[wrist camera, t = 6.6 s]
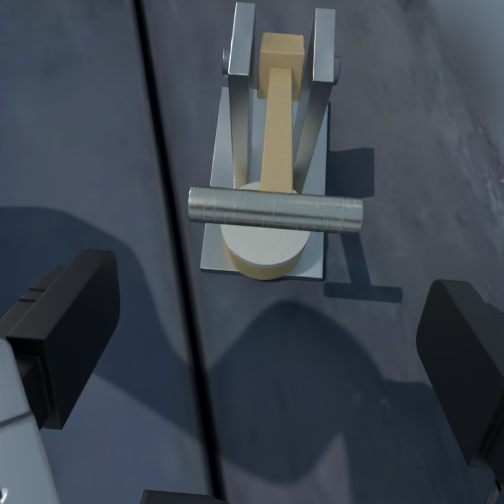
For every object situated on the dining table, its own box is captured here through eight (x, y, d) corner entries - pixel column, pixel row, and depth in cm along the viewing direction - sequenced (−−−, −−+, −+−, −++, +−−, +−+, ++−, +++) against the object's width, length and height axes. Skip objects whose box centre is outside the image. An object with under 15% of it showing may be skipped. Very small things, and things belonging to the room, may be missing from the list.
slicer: (320, 281, 33) (377, 198, 19) (201, 272, 33) (168, 181, 19) (326, 102, 38) (375, -73, 23) (222, 94, 38) (209, -85, 24)
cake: (207, 236, 33) (202, 216, 29) (267, 189, 34) (270, 164, 30) (259, 296, 31) (261, 283, 27) (320, 245, 32) (330, 226, 29)
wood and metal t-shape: (353, 255, 15) (370, 198, 13) (189, 242, 15) (185, 183, 13) (327, 82, 25) (335, 37, 23) (230, 74, 25) (231, 29, 23)
